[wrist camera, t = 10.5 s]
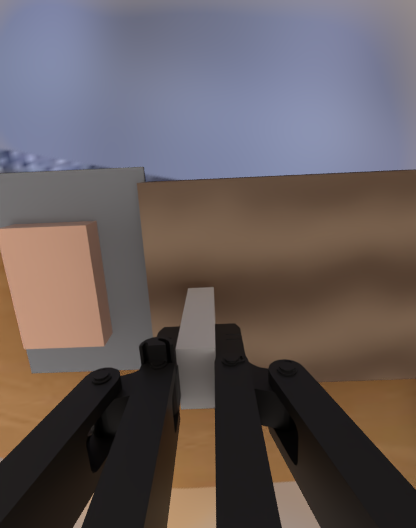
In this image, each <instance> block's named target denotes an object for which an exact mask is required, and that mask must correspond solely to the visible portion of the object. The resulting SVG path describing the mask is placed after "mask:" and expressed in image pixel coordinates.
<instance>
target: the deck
mask: <svg viewBox="0 0 416 528" xmlns="http://www.w3.org/2000/svg"><path fill="white" fill-rule="evenodd" d="M137 190H138V200H139V209H140V219H141V228H142V237H143V247H144V256H145V266H146V275H147V285H148V294H149V304H150V313H151V323H152V332H153V337H157V334H158V332H159V331H160V330H161V329H162V328H164V327H177V326H180V325H181V320H182V315H183V311H184V306H185V301H186V296H187V291H188V288H205V287H214V302H215V321H216V324H228V323H235V324H236V325H238V326H239V327H240V329H241V335H242V340H243V345H244V350H245V355H246V357H247V358H248V360H249V362H250V363H251V364H253V365H255V366H258V367H262V368H269V365H270V364H271V363H272V362H274V361H276V360H282V359H288V360H293V361H295V362H298V363H300V364H301V365H302V366H303V367H304V368H305V369H306V370H307V371H308V372H309V373H310V374H311V375H312V376H313V378H314V379H315V380H316V381H317V382H337V381H365V380H393V379H416V170H392V171H372V172H350V173H328V174H306V175H284V176H264V177H263V176H262V177H244V178H243V177H242V178H220V179H197V180H176V181H154V182H142V183H137Z"/></svg>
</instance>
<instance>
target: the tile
mask: <svg viewBox="0 0 416 528" xmlns="http://www.w3.org/2000/svg"><path fill="white" fill-rule="evenodd" d="M0 250H1V254H2V259H3V263H4V267H5V271H6V275H7V280H8V284H9V288H10V292H11V296H12V301H13V305H14V309H15V313H16V317H17V322H18V326H19V330H20V334H21V339H22V343H23V347H24V349H45V348H73V347H101V346H105V345H106V343H107V341H108V340H109V338H110V336H111V335H112V333H113V332H112V325H111V318H110V312H109V305H108V298H107V291H106V284H105V277H104V270H103V263H102V256H101V249H100V242H99V235H98V228H97V221H82V222H58V223H34V224H13V225H9V226H6V227H2V228H0Z"/></svg>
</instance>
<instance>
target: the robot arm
mask: <svg viewBox="0 0 416 528" xmlns="http://www.w3.org/2000/svg"><path fill="white" fill-rule="evenodd" d="M139 351H140V359H141V367H140V370H139V371H137V372H134V373H131V374H127V375H123V376H120V372H119V371H118V370H117V369H115V368H112V367H108V368H100V369H97V370H95V371H93V372H91V373H90V374H88V375H87V376H86V377H85V378H84V379H83V380H82V381H81V382H80V383H79V384H78V385H77V386H76V387H75V388H74V389H73V390H72V391H71V392H70V393H69V394H68V395H67V396H66V397H65V398H64V399H63V400H62V401H61V402H60V403H59V404H58V405H57V406H56V407H55V408H54V409H53V410H52V411H51V412H50V413H49V414H48V415H47V416H46V417H45V418H44V419H43V420H42V421H41V422H40V423H39V424H38V425H37V426H36V427H35V428H34V429H33V430H32V431H31V432H30V433H29V434H28V435H27V436H26V437H25V438H24V439H23V440H22V441H21V442H20V443H19V444H18V445H17V446H16V447H15V448H14V449H13V450H12V451H11V452H10V453H9V454H8V455H7V456H6V457H5V458H4V459H3V460H2V461H1V462H0V528H73V526H74V525H75V523H76V521H77V520H78V518H79V516H80V515H81V513H82V512H83V510H84V508H85V507H86V505H87V503H88V501H89V500H90V498H91V497H92V495H93V493H94V495H93V497H92V500H91V503H90V506H89V509H88V511H87V514H86V517H85V519H84V522H83V525H82V527H81V528H167V521H168V513H169V505H170V497H171V489H172V481H173V473H174V465H175V457H176V449H177V441H178V433H179V425H180V412H179V406H180V403H181V409H203V408H215V454H216V528H282V527H281V522H280V517H279V512H278V507H277V502H276V497H275V492H274V487H273V481H272V476H271V471H270V466H269V461H268V456H267V451H266V446H265V441H264V436H263V431H262V426H261V425H263V426H268V428H269V432H270V434H271V436H272V438H273V440H274V441H275V443H276V445H277V447H278V449H279V451H280V453H281V454H282V456H283V458H284V460H285V462H286V464H287V466H288V468H289V469H290V471H291V473H292V475H293V477H294V479H295V481H296V482H297V484H298V486H299V488H300V490H301V492H302V494H303V496H304V497H305V499H306V501H307V503H308V505H309V507H310V509H311V510H312V512H313V514H314V516H315V518H316V520H317V522H318V523H319V525H320V527H321V528H416V490H415V489H414V488H413V486H412V485H411V484H410V483H409V482H408V481H407V480H406V479H405V478H404V477H403V475H402V474H401V473H400V472H399V471H398V470H397V469H396V468H395V467H394V466H393V464H392V463H391V462H390V461H389V460H388V459H387V458H386V457H385V456H384V455H383V453H382V452H381V451H380V450H379V449H378V448H377V447H376V446H375V445H374V444H373V442H372V441H371V440H370V439H369V438H368V437H367V436H366V435H365V434H364V433H363V431H362V430H361V429H360V428H359V427H358V426H357V425H356V424H355V423H354V422H353V420H352V419H351V418H350V417H349V416H348V415H347V414H346V413H345V412H344V411H343V409H342V408H341V407H340V406H339V405H338V404H337V403H336V402H335V401H334V400H333V398H332V397H331V396H330V395H329V394H328V393H327V392H326V391H325V390H324V389H323V387H322V386H321V385H320V384H319V383H318V382H317V381H316V380H315V379H314V378H313V376H312V375H311V374H310V373H309V372H308V371H307V370H306V369H305V368H304V367H303V366H302V365H301V364H300V363H298V362H295V361H293V360H288V359H282V360H276V361H274V362H272V363H271V364H270V365H269V368H262V367H258V366H255V365H253V364H251V363H250V362H249V360H248V358H247V357H246V355H245V350H244V345H243V340H242V335H241V329H240V327H239V326H238V325H236V324H235V323H228V324H216V321H215V302H214V287H205V288H188V291H187V296H186V301H185V306H184V311H183V315H182V320H181V325H180V326H177V327H164V328H162V329H161V330H160V331H159V332H158V334H157V337H152V338H149V339H146V340H145V341H143V342H142V343H141V344H140V345H139Z"/></svg>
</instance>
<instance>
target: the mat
mask: <svg viewBox="0 0 416 528" xmlns="http://www.w3.org/2000/svg"><path fill="white" fill-rule="evenodd" d="M142 182H145V173H144V167H132V168H109V169H88V170H67V171H45V172H24V173H3V174H0V228H2V227H6V226H9V225H13V224H34V223H58V222H82V221H97V228H98V235H99V242H100V249H101V256H102V263H103V270H104V277H105V284H106V291H107V298H108V305H109V312H110V318H111V325H112V332H113V333H112V335H111V336H110V338H109V340H108V341H107V343H106V345H105V346H101V347H73V348H45V349H26V350H27V355H28V359H29V363H30V367H31V371H32V373H54V372H81V371H95V370H97V369H100V368H108V367H112V368H115V369H117V370H136V369H140V367H141V359H140V351H139V345H140V344H141V343H142V342H143V341H145V340H146V339H149V338H152V337H153V332H152V323H151V313H150V304H149V294H148V285H147V275H146V266H145V256H144V247H143V237H142V228H141V219H140V209H139V200H138V190H137V183H142Z"/></svg>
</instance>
